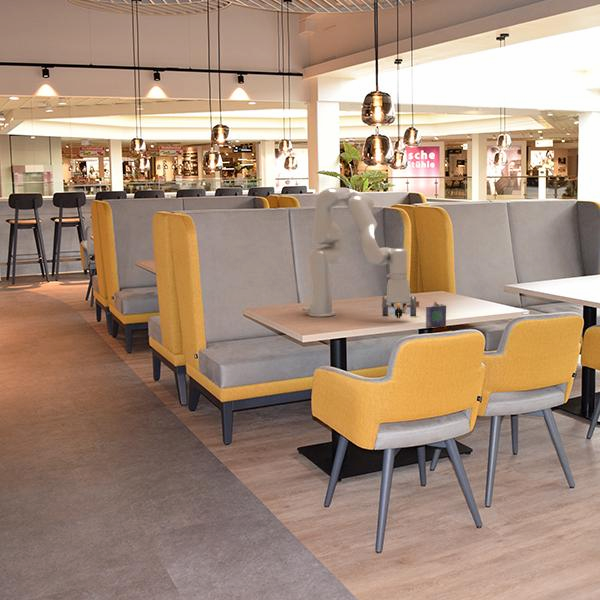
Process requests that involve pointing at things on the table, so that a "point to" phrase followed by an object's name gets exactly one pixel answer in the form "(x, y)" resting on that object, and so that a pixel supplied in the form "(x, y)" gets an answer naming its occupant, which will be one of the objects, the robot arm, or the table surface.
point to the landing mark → (392, 310)
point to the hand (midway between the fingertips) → (398, 317)
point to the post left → (384, 306)
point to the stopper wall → (409, 305)
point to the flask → (436, 315)
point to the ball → (402, 309)
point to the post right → (413, 306)
